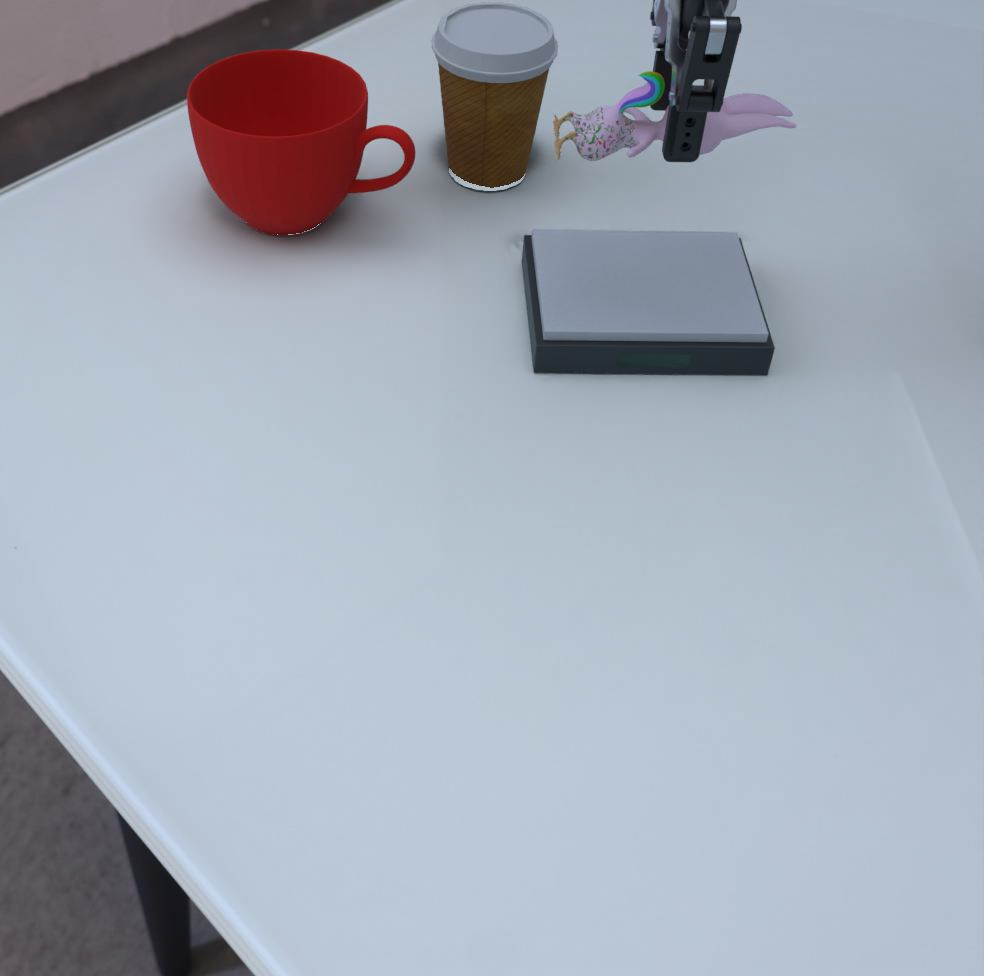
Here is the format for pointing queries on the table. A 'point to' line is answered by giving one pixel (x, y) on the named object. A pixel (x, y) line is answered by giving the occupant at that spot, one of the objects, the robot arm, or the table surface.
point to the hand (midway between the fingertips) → (672, 131)
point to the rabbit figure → (663, 122)
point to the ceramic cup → (285, 136)
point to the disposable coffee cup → (492, 87)
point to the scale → (643, 303)
